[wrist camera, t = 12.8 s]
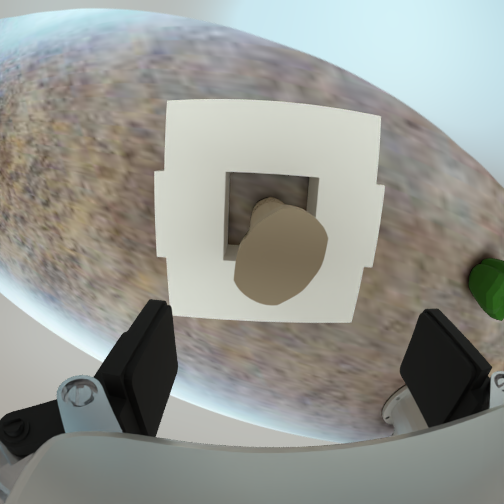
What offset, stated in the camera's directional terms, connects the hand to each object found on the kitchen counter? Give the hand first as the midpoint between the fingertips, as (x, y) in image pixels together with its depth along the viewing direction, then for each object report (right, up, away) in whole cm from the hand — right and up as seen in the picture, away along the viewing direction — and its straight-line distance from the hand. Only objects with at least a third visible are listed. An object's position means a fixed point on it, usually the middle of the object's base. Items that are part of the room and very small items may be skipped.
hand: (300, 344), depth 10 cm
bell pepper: (+34, 0, +24) cm, 42 cm away
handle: (0, +8, +22) cm, 23 cm away
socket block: (0, +8, +22) cm, 23 cm away
